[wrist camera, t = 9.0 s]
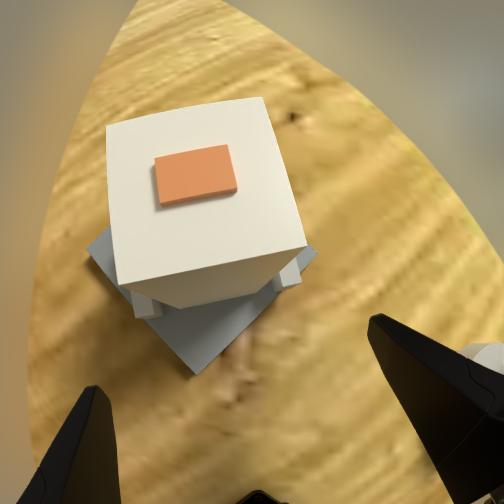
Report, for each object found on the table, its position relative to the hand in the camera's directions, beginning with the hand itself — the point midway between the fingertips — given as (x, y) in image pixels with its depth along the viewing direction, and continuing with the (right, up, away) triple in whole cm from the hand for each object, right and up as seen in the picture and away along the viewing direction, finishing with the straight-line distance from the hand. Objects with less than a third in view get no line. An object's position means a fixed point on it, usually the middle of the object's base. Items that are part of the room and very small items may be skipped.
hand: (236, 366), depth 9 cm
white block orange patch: (-2, +3, +9) cm, 10 cm away
